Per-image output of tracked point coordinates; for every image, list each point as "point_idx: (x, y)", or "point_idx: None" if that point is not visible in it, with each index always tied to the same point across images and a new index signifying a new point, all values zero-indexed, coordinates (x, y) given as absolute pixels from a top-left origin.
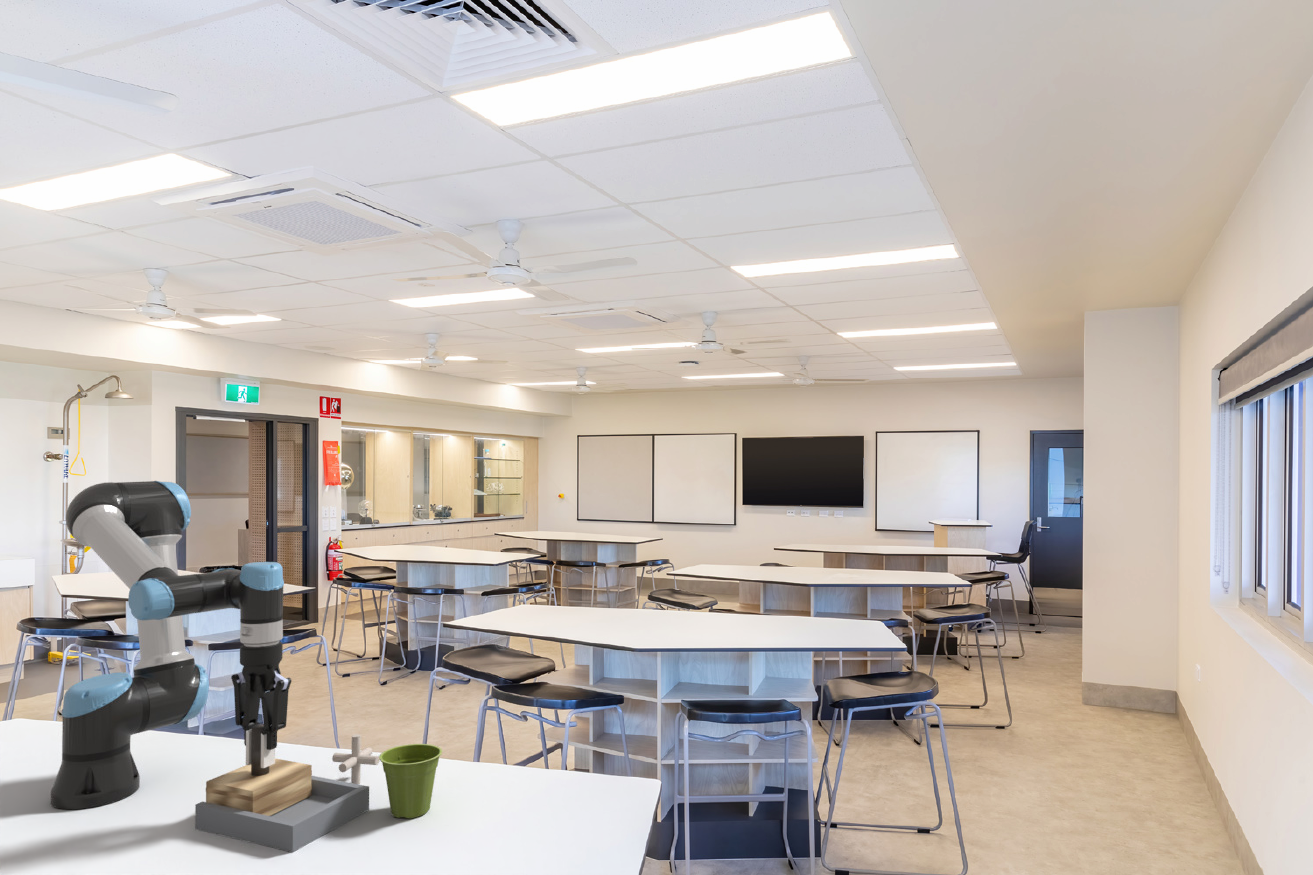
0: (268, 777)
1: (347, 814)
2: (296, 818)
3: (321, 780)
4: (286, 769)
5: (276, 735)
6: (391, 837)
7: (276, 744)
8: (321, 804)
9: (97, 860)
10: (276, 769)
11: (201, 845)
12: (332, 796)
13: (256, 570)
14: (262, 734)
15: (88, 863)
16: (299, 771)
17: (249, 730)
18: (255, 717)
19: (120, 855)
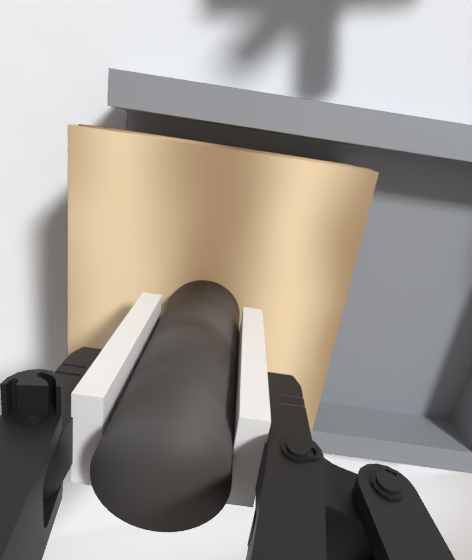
0: (273, 345)
1: None
2: (389, 320)
3: (392, 142)
4: (290, 252)
5: (309, 434)
6: None
7: (300, 392)
8: (414, 212)
9: (56, 523)
10: (244, 263)
11: None
12: (432, 157)
13: None
14: (238, 499)
15: (52, 533)
16: (357, 247)
17: (83, 466)
18: (37, 493)
19: (79, 501)
